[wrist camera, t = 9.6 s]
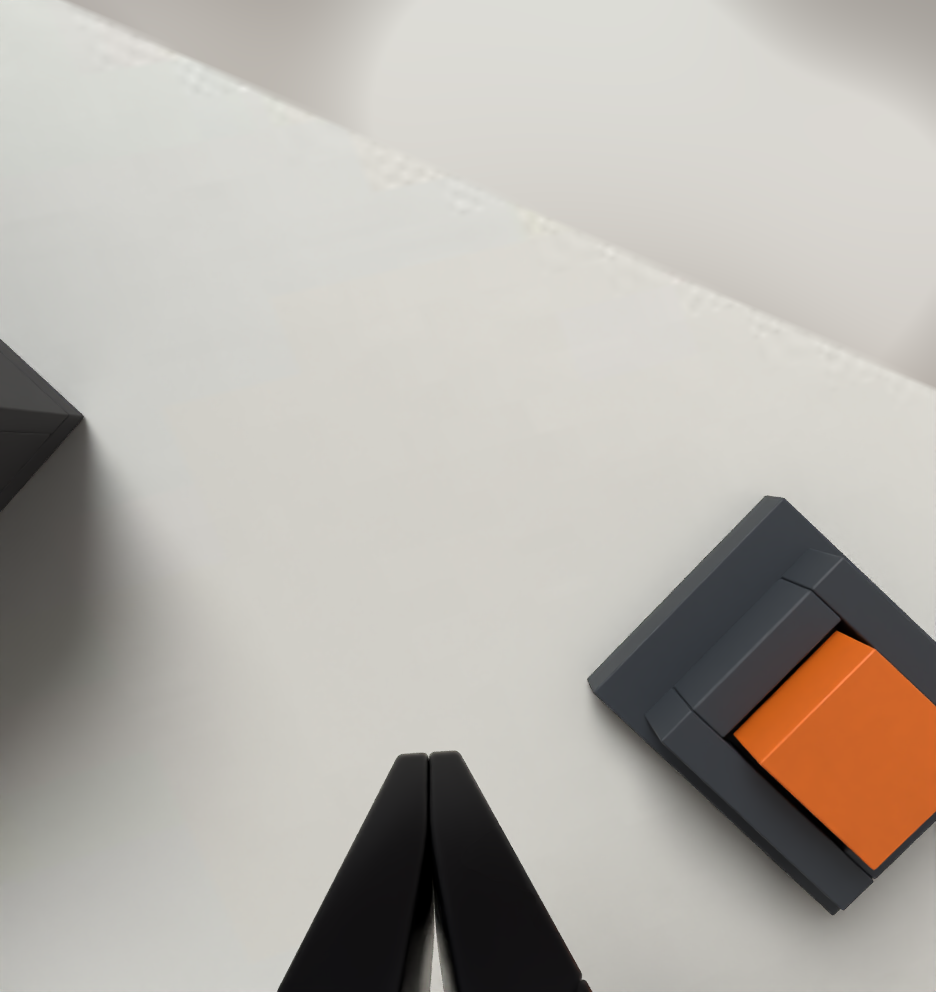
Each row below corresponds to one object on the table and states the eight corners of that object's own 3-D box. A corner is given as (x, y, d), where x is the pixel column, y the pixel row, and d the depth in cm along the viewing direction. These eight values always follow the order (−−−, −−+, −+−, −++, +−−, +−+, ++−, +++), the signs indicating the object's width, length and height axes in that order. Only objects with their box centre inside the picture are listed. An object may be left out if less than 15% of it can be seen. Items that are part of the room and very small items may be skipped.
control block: (995, 713, 20) (1085, 757, 17) (812, 890, 20) (869, 964, 17) (765, 494, 20) (816, 500, 17) (586, 679, 20) (604, 717, 17)
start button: (940, 728, 17) (992, 758, 16) (835, 831, 18) (874, 872, 16) (835, 629, 17) (875, 648, 16) (731, 733, 18) (759, 764, 16)
